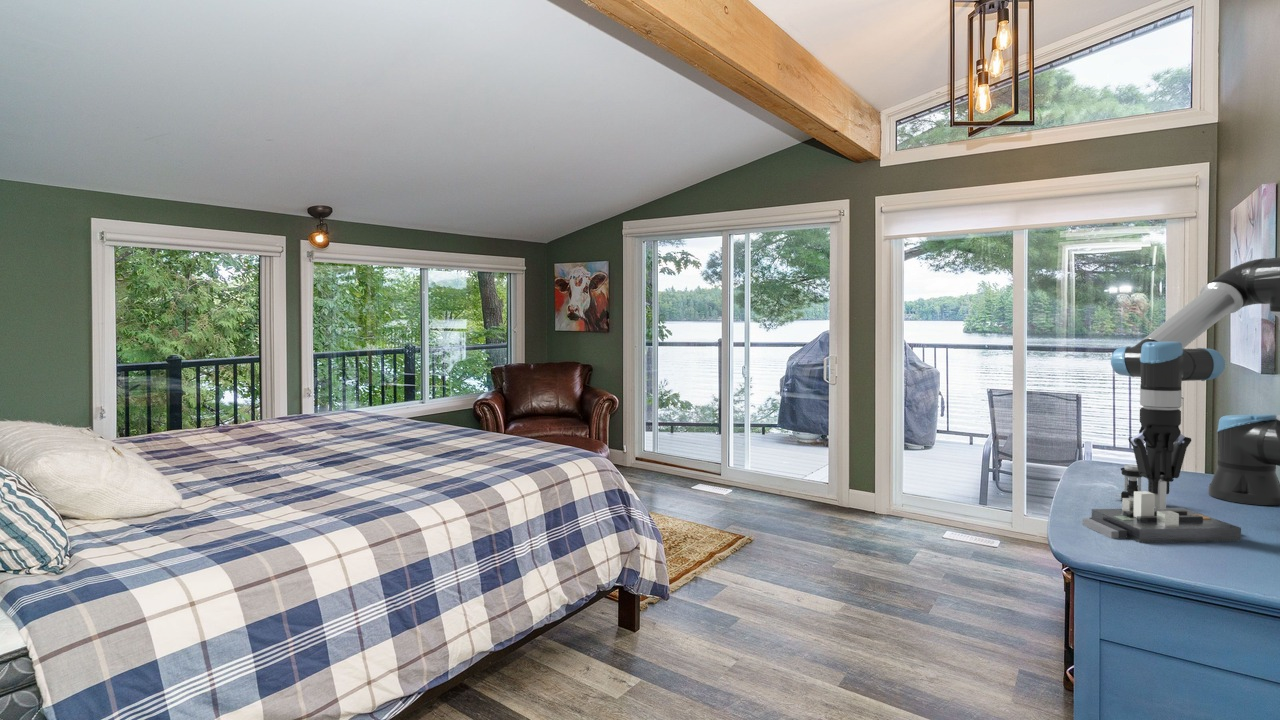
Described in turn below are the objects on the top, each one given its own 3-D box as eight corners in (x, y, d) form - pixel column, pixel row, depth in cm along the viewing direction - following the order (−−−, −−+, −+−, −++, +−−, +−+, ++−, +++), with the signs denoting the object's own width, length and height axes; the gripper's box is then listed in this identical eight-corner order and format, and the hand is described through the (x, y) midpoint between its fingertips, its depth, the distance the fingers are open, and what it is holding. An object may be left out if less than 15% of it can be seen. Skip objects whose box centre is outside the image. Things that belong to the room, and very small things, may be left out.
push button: (1112, 501, 176) (1113, 465, 175) (1116, 497, 180) (1116, 462, 179) (1143, 506, 171) (1143, 468, 171) (1146, 502, 175) (1146, 465, 174)
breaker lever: (1146, 516, 153) (1146, 491, 152) (1154, 519, 150) (1154, 493, 150) (1133, 516, 153) (1133, 491, 152) (1141, 519, 150) (1141, 494, 150)
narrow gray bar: (1096, 524, 157) (1096, 517, 157) (1126, 538, 147) (1126, 530, 147) (1082, 524, 157) (1082, 517, 157) (1111, 538, 147) (1111, 530, 147)
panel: (1182, 519, 159) (1182, 495, 159) (1240, 541, 143) (1241, 514, 143) (1091, 520, 160) (1091, 497, 160) (1139, 542, 144) (1139, 516, 144)
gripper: (1175, 405, 154) (1174, 502, 155) (1120, 406, 154) (1118, 503, 155) (1202, 409, 146) (1200, 511, 147) (1143, 410, 146) (1142, 512, 148)
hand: (1158, 507), depth 151 cm, fingers closed
